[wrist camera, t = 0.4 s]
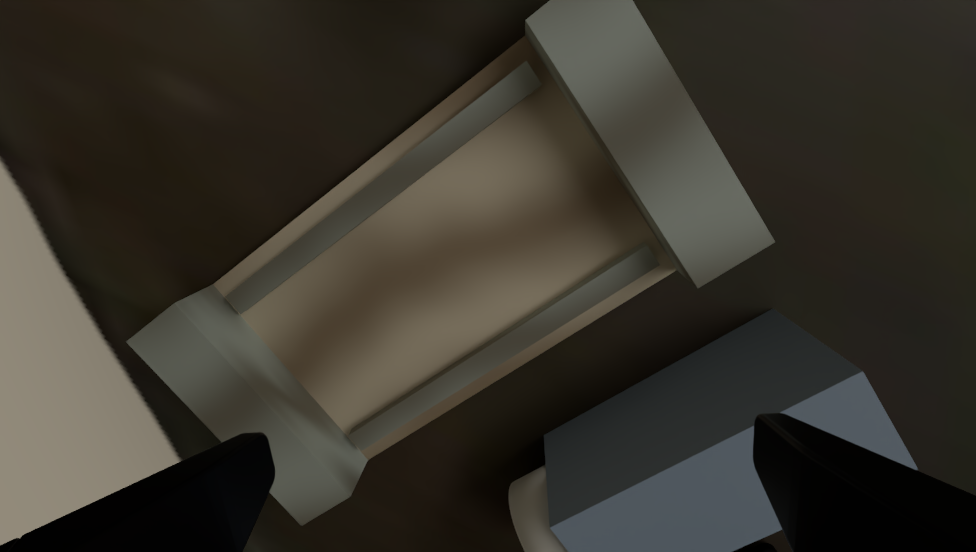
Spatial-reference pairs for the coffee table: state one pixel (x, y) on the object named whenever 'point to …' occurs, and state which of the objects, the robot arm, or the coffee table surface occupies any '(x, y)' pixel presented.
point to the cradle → (460, 253)
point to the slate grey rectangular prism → (693, 447)
